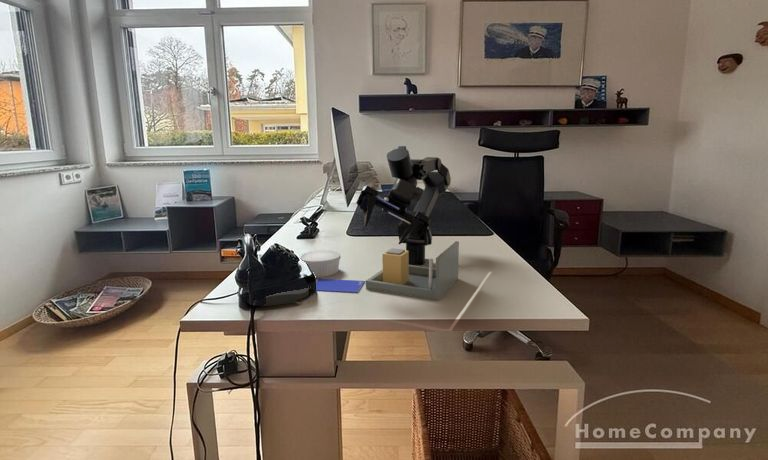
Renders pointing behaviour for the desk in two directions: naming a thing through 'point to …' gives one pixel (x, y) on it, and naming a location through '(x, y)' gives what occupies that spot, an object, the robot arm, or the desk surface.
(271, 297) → the media streaming box
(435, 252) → the desk surface
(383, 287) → the case
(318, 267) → the ramekin
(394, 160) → the robot arm
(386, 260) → the block
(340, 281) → the hard drive
